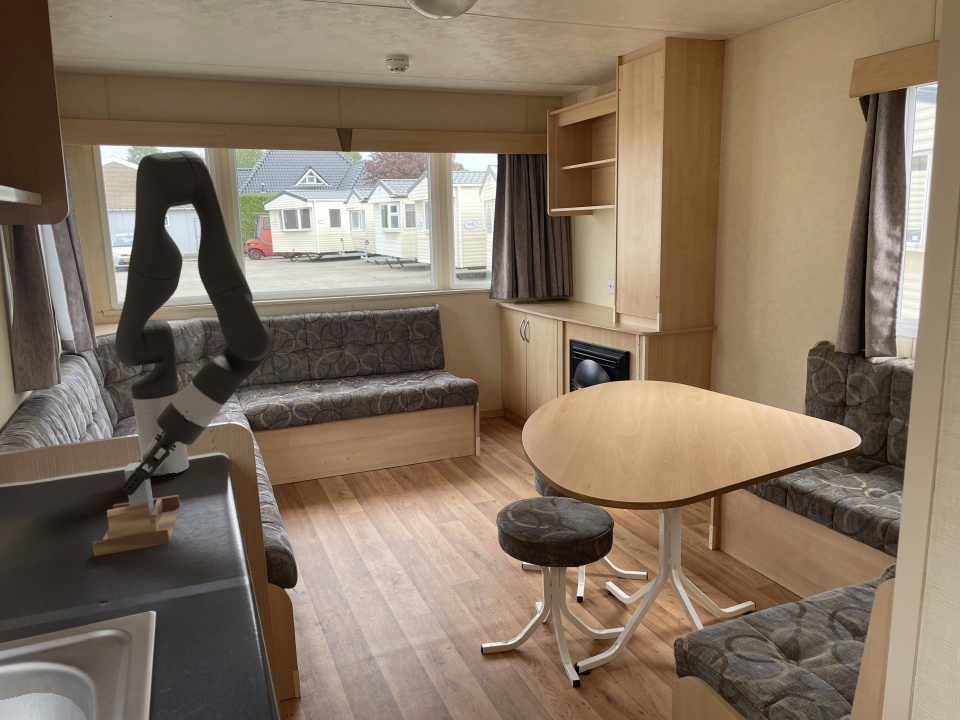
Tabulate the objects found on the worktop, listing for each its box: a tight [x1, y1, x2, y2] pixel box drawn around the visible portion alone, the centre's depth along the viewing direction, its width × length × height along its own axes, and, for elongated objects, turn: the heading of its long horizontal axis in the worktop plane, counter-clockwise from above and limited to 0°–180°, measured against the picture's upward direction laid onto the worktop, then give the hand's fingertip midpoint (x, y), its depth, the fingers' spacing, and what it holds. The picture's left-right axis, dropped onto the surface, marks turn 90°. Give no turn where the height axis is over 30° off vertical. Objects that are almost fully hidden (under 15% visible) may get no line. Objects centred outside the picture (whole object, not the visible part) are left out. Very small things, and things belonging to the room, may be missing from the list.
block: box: [124, 461, 154, 518], centre depth 126 cm, size 4×3×10 cm, turn 17°
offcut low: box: [106, 517, 159, 539], centre depth 117 cm, size 4×7×3 cm, turn 107°
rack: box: [91, 494, 181, 557], centre depth 123 cm, size 18×11×3 cm, turn 17°
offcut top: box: [106, 502, 151, 533], centre depth 116 cm, size 3×6×3 cm, turn 117°
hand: (129, 484), depth 125 cm, fingers open, 7 cm apart
